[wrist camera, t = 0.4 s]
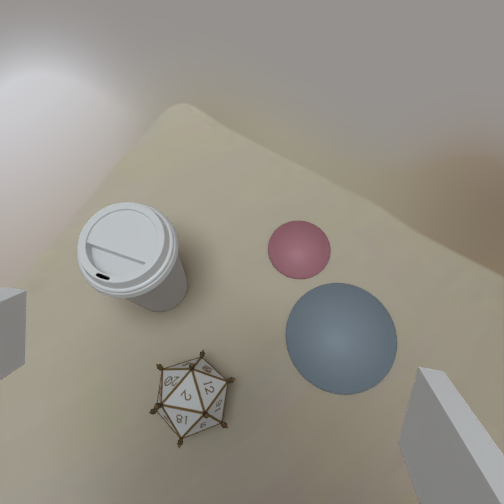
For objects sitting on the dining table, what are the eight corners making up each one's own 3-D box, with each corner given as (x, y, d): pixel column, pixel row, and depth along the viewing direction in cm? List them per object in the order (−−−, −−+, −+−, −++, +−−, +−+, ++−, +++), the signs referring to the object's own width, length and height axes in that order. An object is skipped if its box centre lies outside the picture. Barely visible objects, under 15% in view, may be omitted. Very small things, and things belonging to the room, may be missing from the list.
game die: (190, 408, 47) (119, 432, 39) (200, 339, 47) (131, 349, 39) (248, 439, 42) (179, 473, 34) (260, 361, 42) (193, 377, 34)
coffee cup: (108, 289, 49) (46, 245, 35) (163, 237, 52) (125, 176, 38) (160, 340, 47) (115, 314, 33) (215, 283, 49) (195, 236, 35)
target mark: (417, 367, 45) (418, 367, 45) (314, 413, 43) (314, 413, 43) (364, 268, 49) (364, 267, 49) (269, 306, 48) (269, 306, 48)
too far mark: (340, 265, 49) (341, 264, 49) (282, 288, 49) (282, 287, 48) (314, 213, 52) (314, 212, 52) (258, 234, 51) (258, 233, 51)
